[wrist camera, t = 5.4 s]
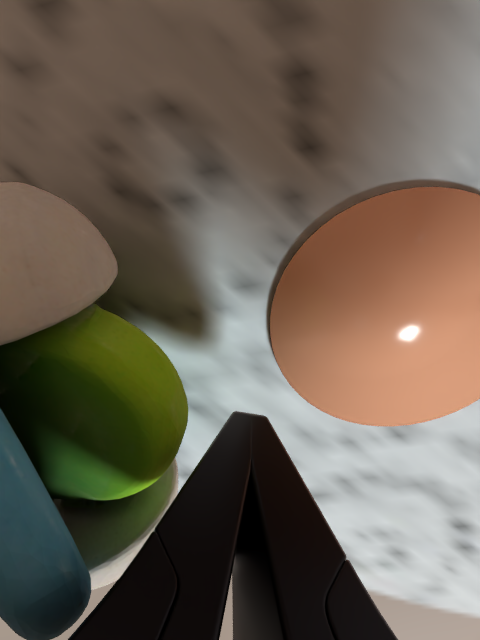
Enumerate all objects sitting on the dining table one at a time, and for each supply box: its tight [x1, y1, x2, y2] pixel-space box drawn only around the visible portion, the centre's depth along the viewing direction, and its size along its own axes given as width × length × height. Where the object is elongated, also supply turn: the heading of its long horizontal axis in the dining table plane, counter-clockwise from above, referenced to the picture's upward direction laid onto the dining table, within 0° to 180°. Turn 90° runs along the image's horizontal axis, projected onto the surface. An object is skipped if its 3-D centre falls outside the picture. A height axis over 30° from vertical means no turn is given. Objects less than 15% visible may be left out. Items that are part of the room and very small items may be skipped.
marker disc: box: [270, 187, 480, 426], centre depth 9 cm, size 6×6×1 cm
